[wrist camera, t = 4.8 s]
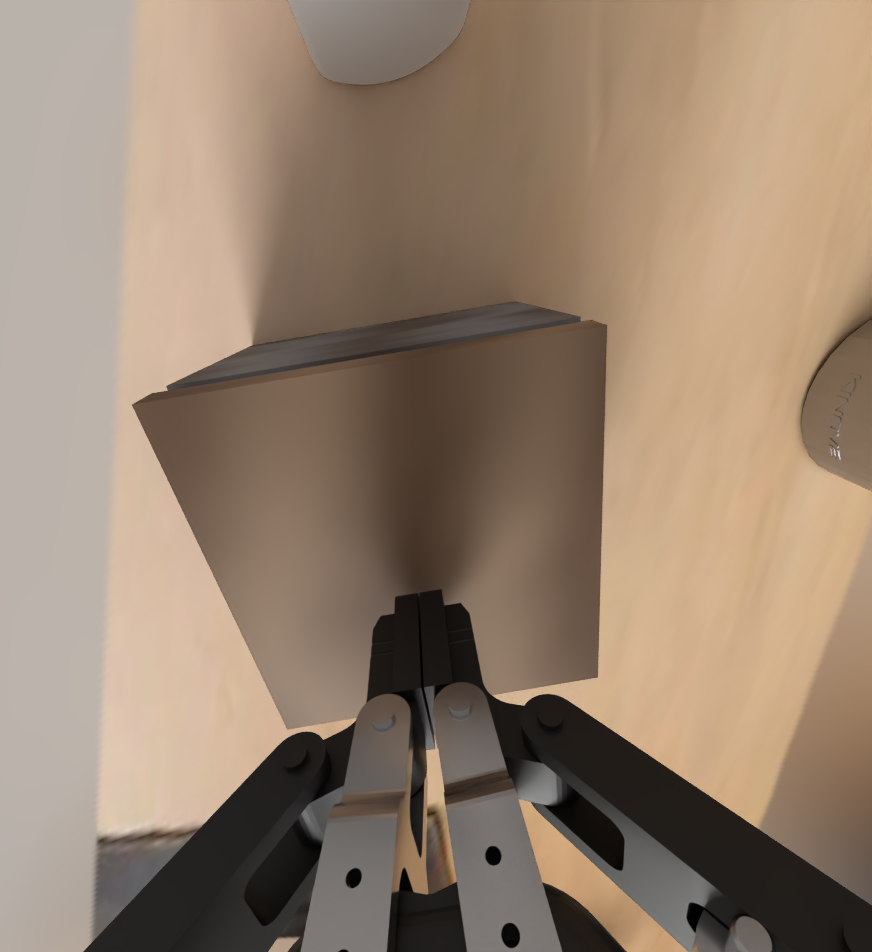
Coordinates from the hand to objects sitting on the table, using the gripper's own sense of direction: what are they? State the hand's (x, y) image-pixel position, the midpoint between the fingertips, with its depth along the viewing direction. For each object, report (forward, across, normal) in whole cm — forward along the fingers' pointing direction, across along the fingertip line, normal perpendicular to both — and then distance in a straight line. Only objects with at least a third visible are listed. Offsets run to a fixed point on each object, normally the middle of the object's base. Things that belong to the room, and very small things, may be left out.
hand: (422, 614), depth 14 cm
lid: (+2, 0, -1) cm, 2 cm away
